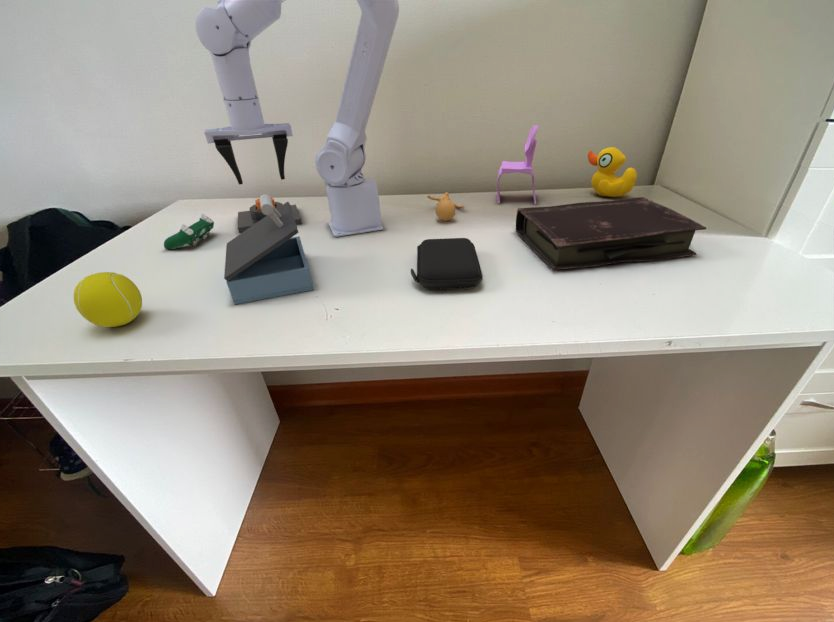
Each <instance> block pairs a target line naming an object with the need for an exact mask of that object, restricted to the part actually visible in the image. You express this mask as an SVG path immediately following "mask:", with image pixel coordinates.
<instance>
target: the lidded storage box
mask: <svg viewBox="0 0 834 622" xmlns="http://www.w3.org/2000/svg"><path fill="white" fill-rule="evenodd" d="M308 263H309V262H308V260H307V257H306V253H305V250H304V247H303V243H302V241H301V237H300V236H298V235H297V236H293V237H291V238H290V239H288V240H287V241H286V242H284V243H283V244H281V245H280V246H278V247H277V248H275V249H274V250H272V251H271V252H269V253H268V254H267V255H265V256H264V257H262V258H261V259H259V260H258V261H256V262H255V263H253V264H252V265H250V266H249V267H247V268H246V269H245V270H243V271H242V272H240V273H239V274H237V275H236V276H234V277H233V278H231V279H230V280H228V281H226V285H227V287H228V291H229V293H230V296H231V299H232V302H233V304H234V305H240V304H245V303H246V304H247V303H250V302H251V303H252V302H256V301H261V300H267V299H273V298H278V297H282V296H284V297H285V296H288V295H294V294H299V293H303V292H304V293H305V292H311V291H314V284H313V280H312V276H311V270H310V266H309V264H308Z"/></svg>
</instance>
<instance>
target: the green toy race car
mask: <svg viewBox="0 0 834 622" xmlns="http://www.w3.org/2000/svg"><path fill="white" fill-rule="evenodd" d="M214 225H215V222H214V221H213V219H212V218H210V216H208V215H206V214H204V213H201V214H200V217H199V220H198V221H196V222H194V223H192V224H191V225H189V226H188V225H186V224H184V223H183V224H181V228H180V229H179V231H178V232H176V233H173V235H170V236H168V237H167V238H166V239H164V241H163V248H164V249H165V250H176V249H179V248H183V247H185V246H187V245H189V246H193V247H194V246H196V245H197V244H198V240H197V239H200V240H206V239H207V238H208V235H207V234H208V233H209V232H211V231H212V230H213V229H214Z"/></svg>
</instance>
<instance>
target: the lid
mask: <svg viewBox="0 0 834 622" xmlns="http://www.w3.org/2000/svg"><path fill="white" fill-rule="evenodd" d="M259 198H260V205H261V211H262V213H263V214H264V215H267V216H266V217H264V218H263V219H261V220H260V221H259V222H257V223H256V224H254V225H253V226H251V227H250V228H248V229H247V230H245V231H244V232H242V233H239V234H238V235H236V236H235V237H234V238H232V239H231V240H229V241H228V242H226V245H225V247H226V248H225V262H224V275H223V276H224V277H223V279H224V280H225V281H226V282H227V281H228V280H230V279H231V278H233V277H234V276H236V275H237V274H239V273H240V272H242V271H243V270H245V269H246V268H247V267H249V266H250V265H252V264H253V263H255V262H256V261H258V260H259V259H261V258H262V257H264V256H265V255H267V254H268V253H269V252H271V251H272V250H274V249H275V248H277V247H278V246H280V245H281V244H283V243H284V242H286V241H287V240H288V239H290V238H291V237H295V236H296V235H297V234H299V230H298V229H299V228H298V225H296V222H295V219H294V216H293V212H292V209H291V206H290V205H291V203H290V202H289V201H286V202H285V203H284V204H283V203H282V204H283V205H282V206H280V207H279V208H277V209H276V208H275V207H274V206H273V205H272V200H271V198H272V196H270V195H269V194H266V193H263V194H261V195H260V197H259Z"/></svg>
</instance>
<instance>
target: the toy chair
mask: <svg viewBox="0 0 834 622" xmlns="http://www.w3.org/2000/svg"><path fill="white" fill-rule="evenodd" d="M538 130H539V125H537V124H533V125H532V126H531V128H530V129H529V132H528V136H527V139H526V141H525V145H524V155H525V161H505V160H502V161H501V166H500V167H499V168H498V172H497V180H496V198H497V205H500V204H501V192H500V184H499V183H500V180H501V176H502V175H504V174H517V173H518V174H526V175H530V176H531V184H532V196H533V203H534V205H537V197H536V188H535V187H536V186H535V173H534V170H533V169H534V168H533V160H534V155H535V152H536V147H537V144H538V143H537V141H538V140H537V139H535V138H536V135H537V132H538Z"/></svg>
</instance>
